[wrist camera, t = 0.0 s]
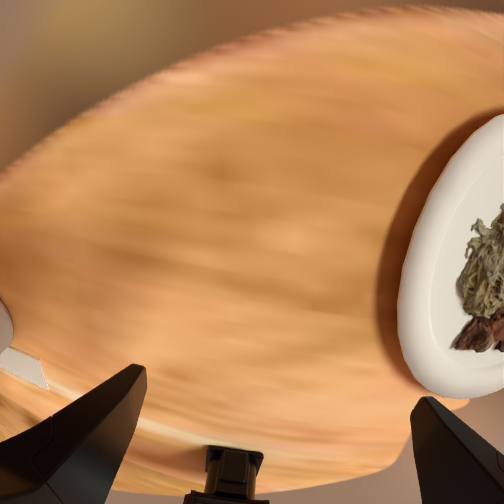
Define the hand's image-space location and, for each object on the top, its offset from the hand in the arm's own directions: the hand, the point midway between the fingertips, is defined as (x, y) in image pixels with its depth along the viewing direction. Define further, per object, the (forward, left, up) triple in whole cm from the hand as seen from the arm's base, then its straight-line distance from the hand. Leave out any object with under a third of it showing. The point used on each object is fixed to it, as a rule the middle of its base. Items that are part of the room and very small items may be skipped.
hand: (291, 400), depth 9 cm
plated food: (+2, -24, -15) cm, 28 cm away
